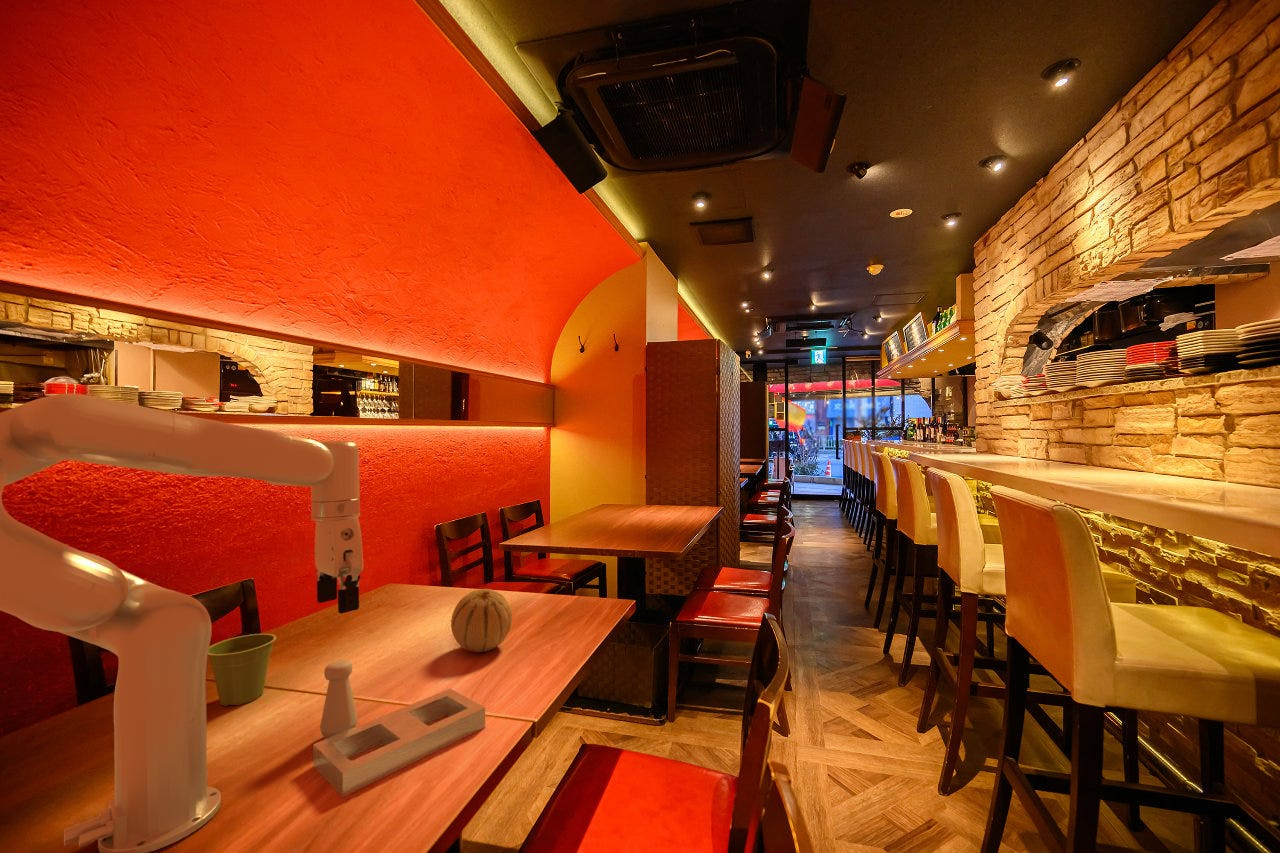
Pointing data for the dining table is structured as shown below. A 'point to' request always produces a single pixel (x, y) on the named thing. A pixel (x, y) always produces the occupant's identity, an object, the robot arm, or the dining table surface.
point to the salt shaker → (338, 700)
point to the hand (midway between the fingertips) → (337, 605)
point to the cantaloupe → (481, 620)
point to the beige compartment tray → (396, 740)
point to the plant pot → (241, 667)
